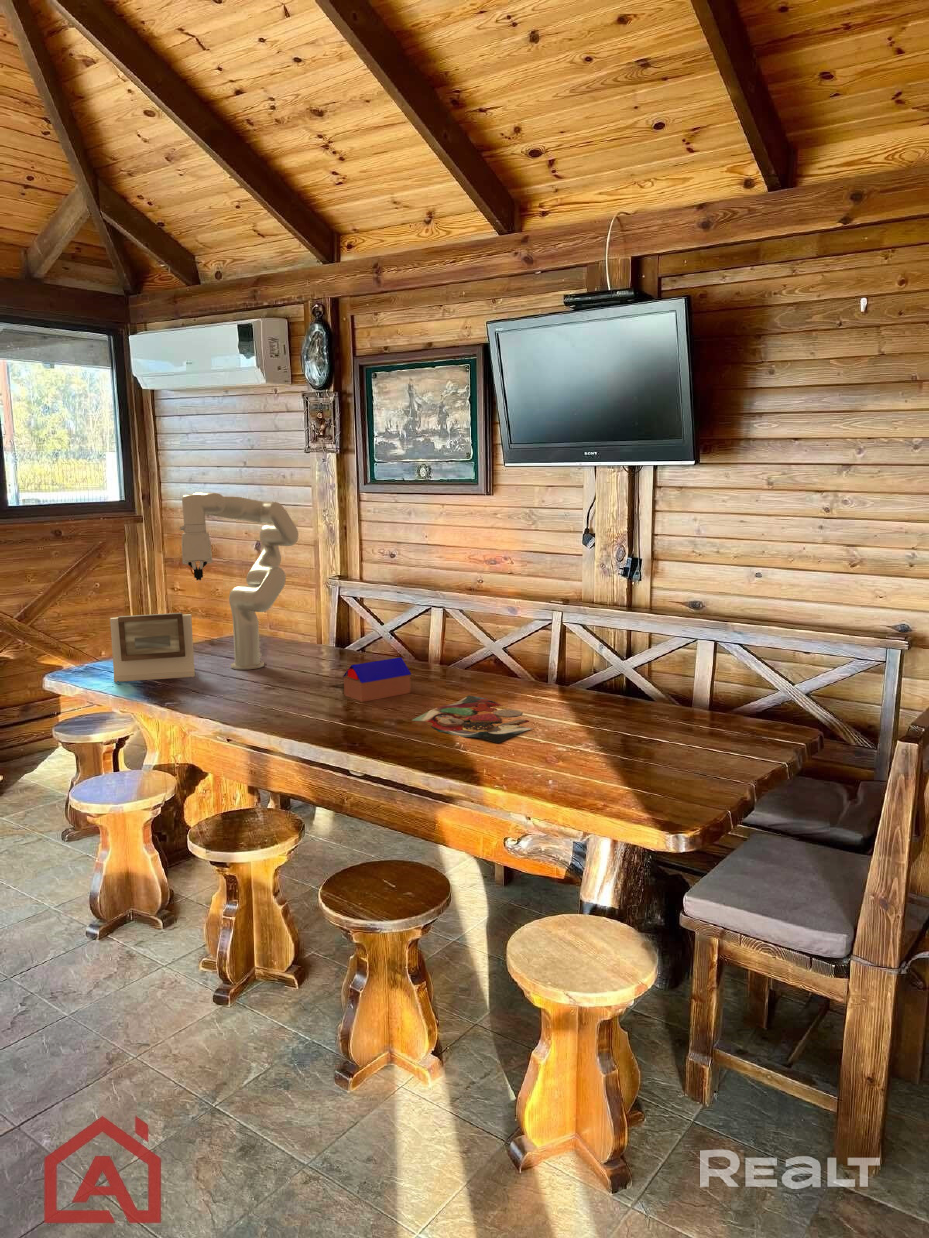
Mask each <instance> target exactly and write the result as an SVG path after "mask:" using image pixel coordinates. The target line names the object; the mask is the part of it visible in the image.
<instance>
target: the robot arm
mask: <svg viewBox="0 0 929 1238" xmlns="http://www.w3.org/2000/svg"><path fill="white" fill-rule="evenodd" d="M181 504H182V516H183V525H181V526H179V530H180V531H183V533H181V558H182V560H181V563H182V565H187V566H189V567H190V568H191V569H192V570H193V577H194V579H196V581H202V578H204V572H203V570H204V568H205V566H207V565H209V564H212V563H214V562H213V561H214V559H213V557H212V553H213V552H212V546H211V538H210V534H209V532H208V531H207V524H206V515H207V516H211V517H219V518H220V517H221V518H225V519H230V520H237V521H244V522H245V521H246V522H250V523H256V524H264V525H263V526H262V527H261V528H260V530H259V540H260V541H259V542H260V546H261V548H260V549H261V550H260V554H259V556H258V557H257V559H256V561H255V562H254V563H253V565H252V567H251V568H250V569H249V571H248V573H247V574H246V579H245V580H246V584H247V585H237V586H235V587H233V588H232V589H231V590H230V593H229V595H228V596H229V597H228V601H229V606H230V611H231V615H232V632H233V650H234V653H233V654H234V662H233V663H231V664H230V668H231V669H234V670H245V671H246V670H247V671H248V670H256V669H257V670H258V669H261V668H263V667H264V666H265V663H264V661H262V660H261V659H260V658H261V657H262V656H263V655H262V652H260V637H259V636H260V635H259V632H260V631H259V619H258V615H257V613H264V612H267V611H268V610H269V609H270V608H272V607H273V604H274V603H275V602H276V601H277V599H278V597H279V596H280V594H281V592H282V591H283V589H284V587H285V585H286V579H287V577H286V576H287V575H286V572H285V570H284V569H283V568H282V567H280V565H281V564H282V563H281V562H282V557H281V556H282V555H281V552H280V548H279V547H292V546H295V544H296V543H297V542H298V540H299V531H298V528H297V526H296V524H295V523H294V521H293V520H292V518H291V516H290V514H289V513H288V512H287V510H286V509H285V508H284V506H283V505H282V504H281V503H279V502H277V501H262V500H256V499H251V498H247V497H242V496H241V497H240V496H223V495H222V494H221V493H216V492H195V493H193V494H184V495H183V496H182V498H181ZM196 562H199V566H197V564H196Z"/></svg>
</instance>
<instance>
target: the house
mask: <svg viewBox="0 0 929 1238" xmlns="http://www.w3.org/2000/svg"><path fill="white" fill-rule="evenodd" d="M411 675H412V673H411V671H410V669H409V667H408V666H407V664H406V662H405V661H404V660H403V658H402V657H395V658H387V659H382V660H376V661H369V662H362V663H357V664H351V665H350V667H349V668H348V669H347V671H346V672H345V673H344V674H343V676H342V677H343V688H344V691H343V693H344V696H346V697H348V698H350V699H354V700H357V701H359V702H361V703H363V702H369V701H374V700H379V699H385V698H390V697H394V696H395V697H396V696H400V695H405V694H410V693H411Z"/></svg>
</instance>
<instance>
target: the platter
mask: <svg viewBox="0 0 929 1238" xmlns="http://www.w3.org/2000/svg"><path fill="white" fill-rule="evenodd" d="M503 706H504V705H503V704H501V703H498V702H495V701H493V700H491V699H489V698H485V697H479V696H474V695H470V694H469V695H467V696H465V697H464V698H462V699H460V700H458V701H456V702H454V703H450V704H444V705H441V706H438V707H435V708H432V709H431V710H428V711H426V712H424V713H423V714H421V715H418V716H417V717H415V718H413V719H412V721H415V722H416V721H417V722H428V723H431V725H430V728H432V729H433V730H435V731H437V733H438V732H439V733H445V734H449V735H452V736H459V737H461V738H478V739H482V740H485V741H489V742H493V743H497V744H500V743H501V742H503V741H505V740H508V739H510V738H513V737H514V736H516V735H517V736H518V735H519V734H521V733H523V732H525V731H529V730H532V727H531V728H530V727H526V726H522V725H523V724H525V723H530V720H528V719H516V720H515V719H514V720H512V721H511V720H510V721H507V722H503V719H502V718H516V717H522V716H523V712H522V711H519V710H515V709H505V708H504V709H498V708H496V707H503ZM529 711H531V712H533V710H530V709H529ZM481 712H486V713H481ZM487 712H488V713H487ZM478 713H481V714H478ZM497 724H498V725H497ZM495 725H496V726H495Z"/></svg>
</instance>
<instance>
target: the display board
mask: <svg viewBox="0 0 929 1238" xmlns="http://www.w3.org/2000/svg"><path fill="white" fill-rule="evenodd" d="M182 615H183V629H184V642H185V657H173V658H159V659H145V660H132V661H121V649H120V637H119V625H118V617H110V619H109V625H110V636H111V640H110V641H111V652H112V655H111V656H112V664H113V665H112V666H113V667H112V669H113V682H114V683H115V682H117V681H119V682H131V681H132V682H133V681H134V682H135V681H146V680H148V681H149V680H162V679H163V680H164V679H176V678H177V679H179V678H180V679H181V678H182V679H183V678H194V677H195V675H196V674H195V672H196V670H195V660H194V659H195V658H194V656H195V655H194V640H193V627H192V626H193V624H192V623H193V622H192V613H191V614H190V613H188V614H187V613H186V614H182ZM117 683H118V682H117Z"/></svg>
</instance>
